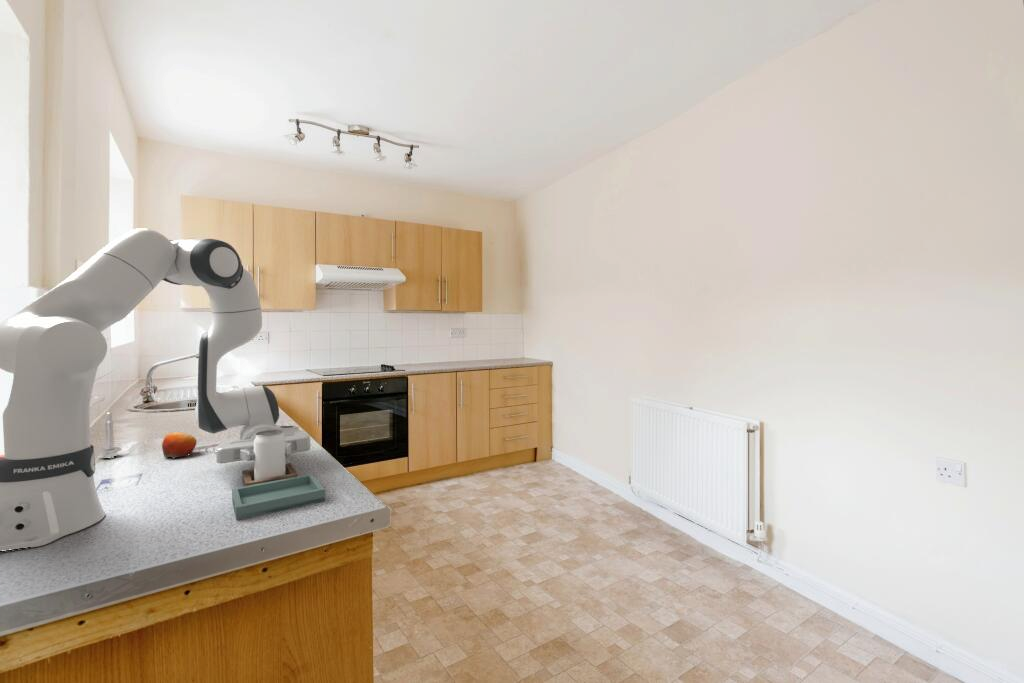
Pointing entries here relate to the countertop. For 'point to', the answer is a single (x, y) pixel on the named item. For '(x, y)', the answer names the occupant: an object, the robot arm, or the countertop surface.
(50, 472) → the robot arm
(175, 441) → the fruit
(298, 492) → the tray
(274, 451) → the can
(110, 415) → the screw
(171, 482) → the countertop surface
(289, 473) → the collar
